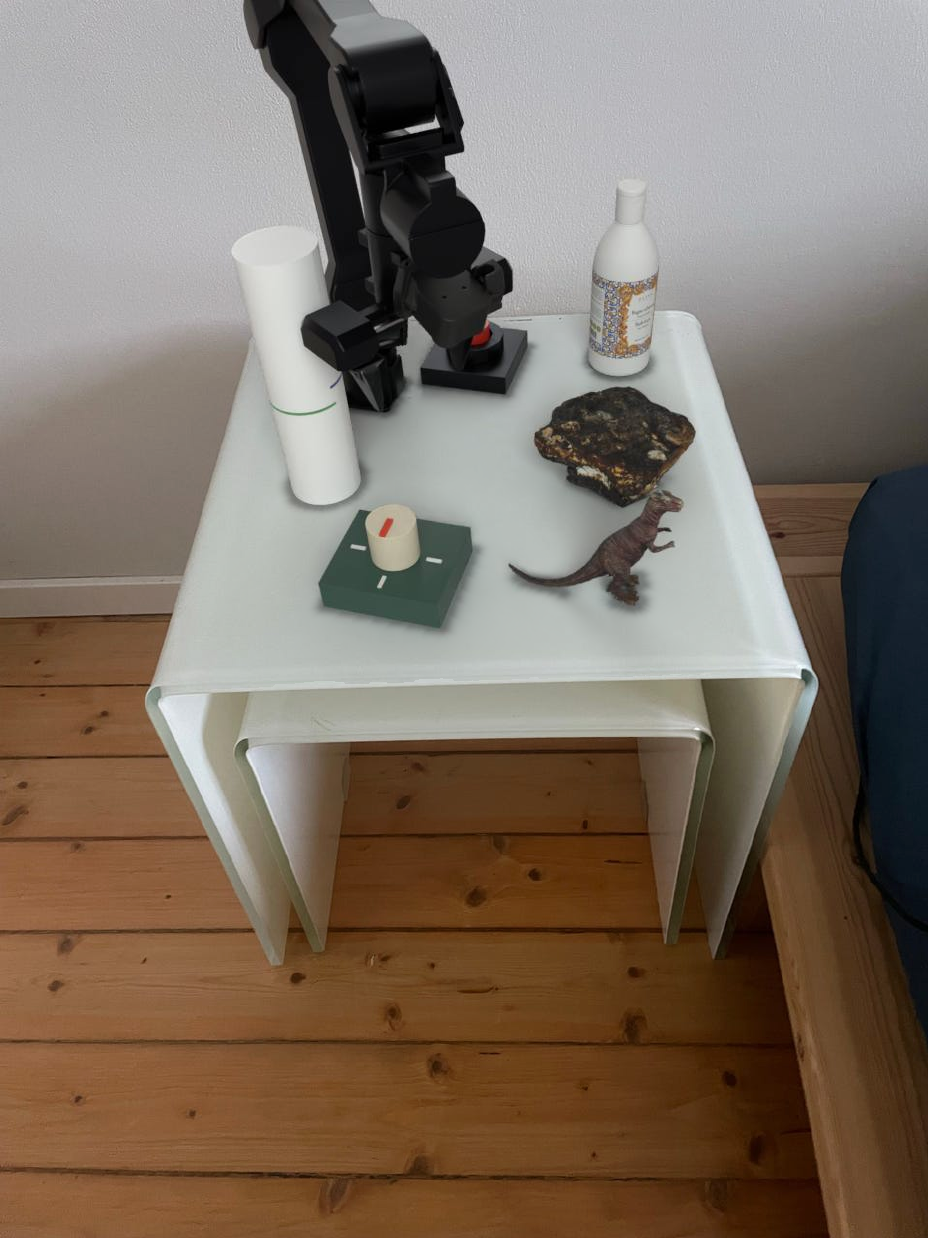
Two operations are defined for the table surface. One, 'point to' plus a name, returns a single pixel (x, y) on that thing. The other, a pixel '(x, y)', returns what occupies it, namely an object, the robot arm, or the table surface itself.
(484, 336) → the button
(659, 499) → the dinosaur model
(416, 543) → the dial knob
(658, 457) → the fossil rock
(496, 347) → the button box
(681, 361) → the table surface
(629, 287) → the bath foam
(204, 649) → the table surface
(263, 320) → the cylindrical container
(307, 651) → the table surface
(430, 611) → the dial panel
